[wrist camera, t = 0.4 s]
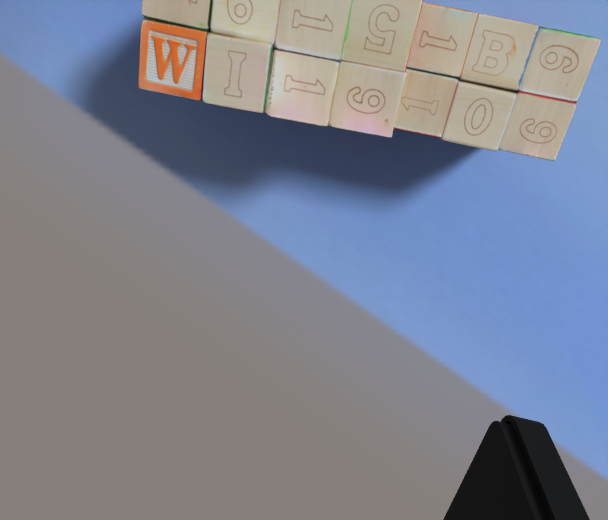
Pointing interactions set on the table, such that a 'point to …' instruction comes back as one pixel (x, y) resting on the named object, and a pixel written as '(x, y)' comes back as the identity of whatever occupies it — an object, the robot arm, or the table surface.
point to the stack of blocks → (372, 67)
